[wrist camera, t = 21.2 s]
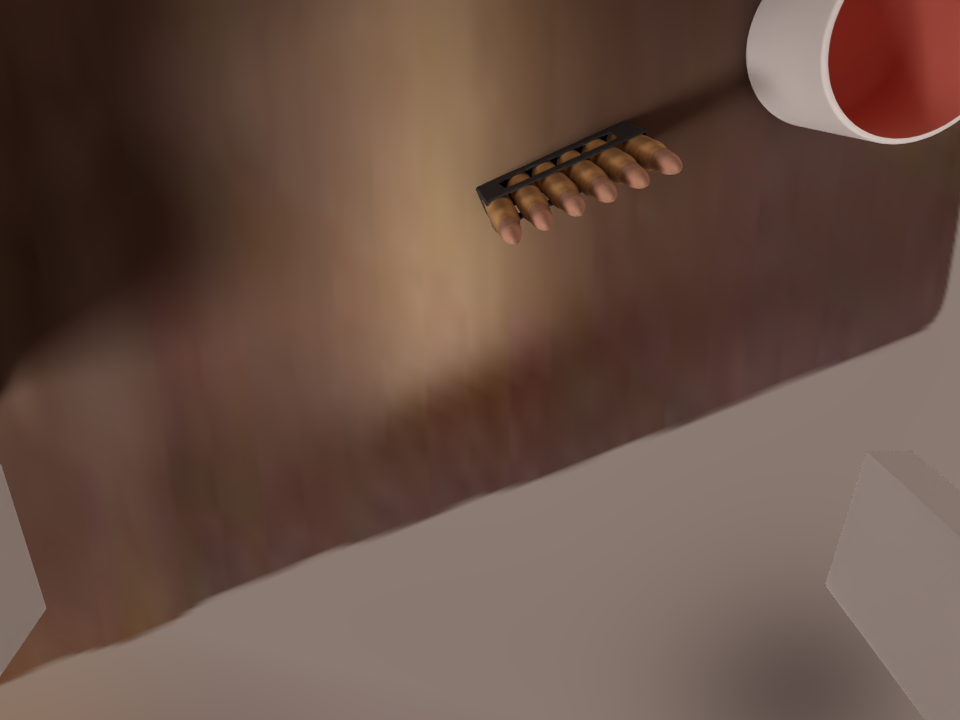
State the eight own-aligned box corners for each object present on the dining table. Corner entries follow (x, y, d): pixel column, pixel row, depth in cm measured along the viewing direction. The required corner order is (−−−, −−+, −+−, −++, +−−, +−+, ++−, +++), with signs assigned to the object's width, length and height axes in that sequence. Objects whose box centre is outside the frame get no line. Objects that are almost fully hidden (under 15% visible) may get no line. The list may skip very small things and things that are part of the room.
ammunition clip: (627, 119, 44) (693, 142, 33) (635, 146, 44) (703, 178, 34) (475, 187, 45) (490, 232, 34) (486, 213, 46) (504, 264, 35)
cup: (859, -91, 40) (986, -132, 31) (918, 59, 43) (1047, 62, 34) (710, 21, 42) (789, 14, 33) (779, 156, 45) (867, 183, 36)
